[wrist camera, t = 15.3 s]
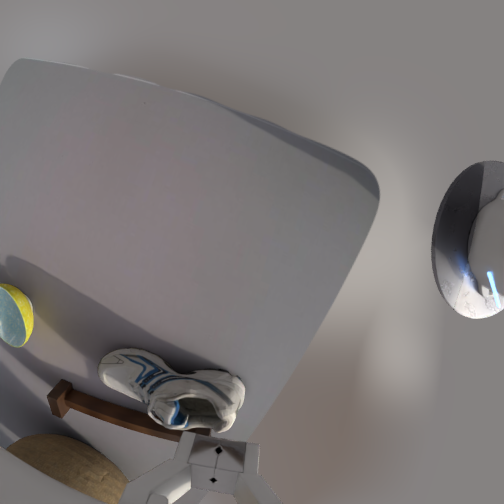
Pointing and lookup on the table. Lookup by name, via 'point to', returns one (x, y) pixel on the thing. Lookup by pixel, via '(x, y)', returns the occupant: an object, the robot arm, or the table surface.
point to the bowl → (15, 316)
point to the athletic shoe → (174, 390)
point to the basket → (72, 465)
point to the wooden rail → (111, 413)
